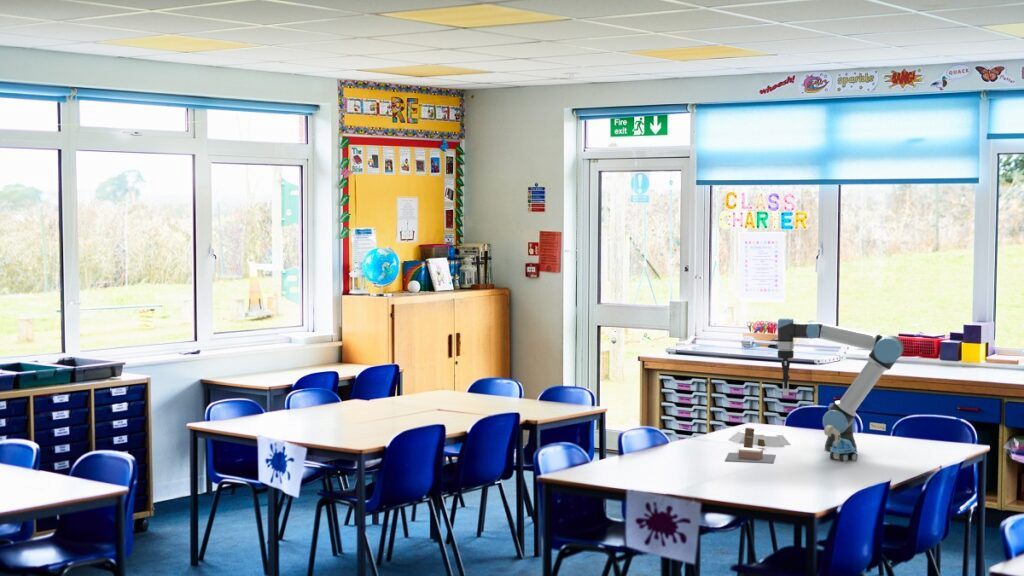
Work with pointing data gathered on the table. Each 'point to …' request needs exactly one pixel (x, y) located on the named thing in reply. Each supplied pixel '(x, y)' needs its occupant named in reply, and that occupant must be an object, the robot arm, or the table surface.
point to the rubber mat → (766, 459)
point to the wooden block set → (751, 439)
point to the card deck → (750, 453)
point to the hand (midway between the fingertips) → (785, 393)
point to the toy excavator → (840, 446)
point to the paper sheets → (768, 438)
